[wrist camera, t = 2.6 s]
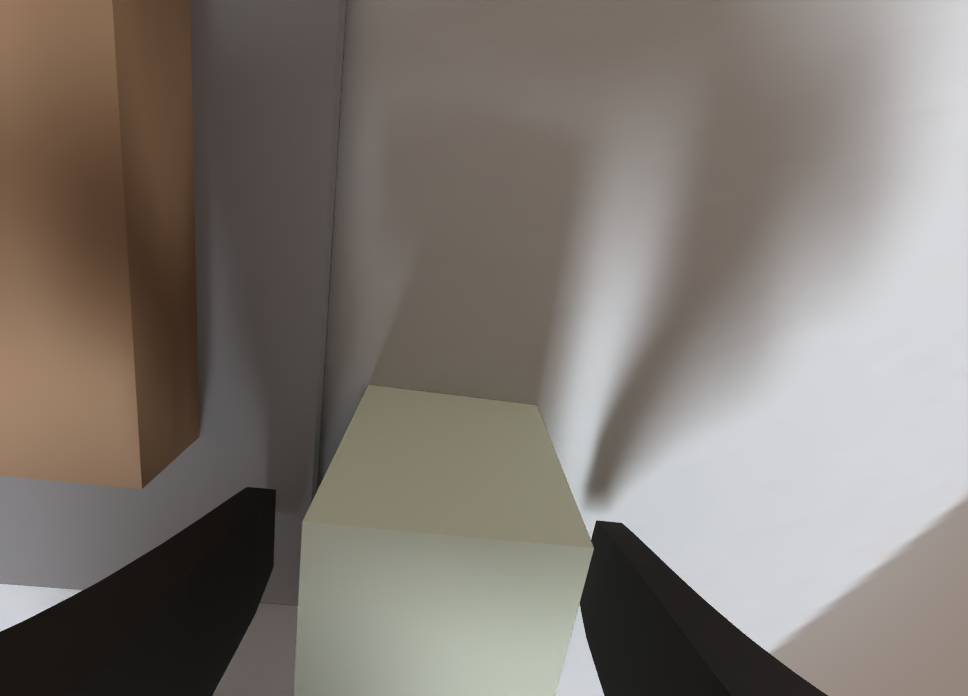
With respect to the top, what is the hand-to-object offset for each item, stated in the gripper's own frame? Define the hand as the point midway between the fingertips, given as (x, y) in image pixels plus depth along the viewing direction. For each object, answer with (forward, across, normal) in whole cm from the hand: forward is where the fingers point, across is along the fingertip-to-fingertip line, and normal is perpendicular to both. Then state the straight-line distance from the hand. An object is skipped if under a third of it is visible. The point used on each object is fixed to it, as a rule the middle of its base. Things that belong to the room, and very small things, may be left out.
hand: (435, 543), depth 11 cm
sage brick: (+2, 0, 0) cm, 2 cm away
